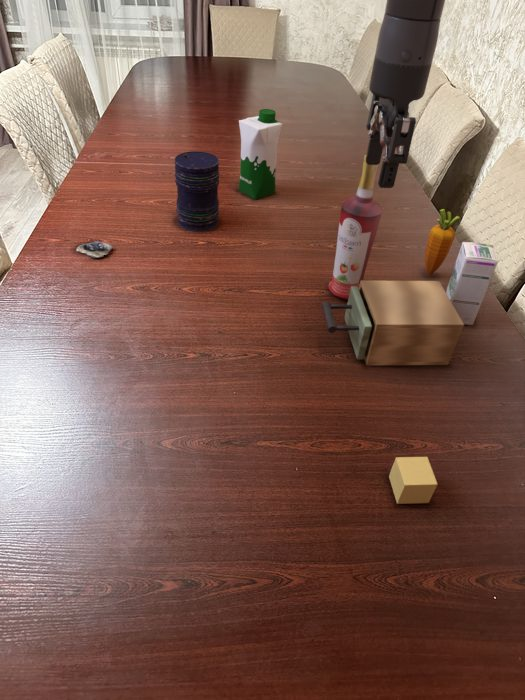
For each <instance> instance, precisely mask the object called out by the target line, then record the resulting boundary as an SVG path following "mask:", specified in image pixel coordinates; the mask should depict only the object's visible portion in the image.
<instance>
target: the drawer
mask: <svg viewBox="0 0 525 700" xmlns="http://www.w3.org/2000/svg"><path fill="white" fill-rule="evenodd" d="M321 309H322V313H323V317H324V321H325V326H326V329H327V332H328V333H329V334H334V333H336V332H337V331H347V332H348V335H349V338H350V341H351V344H352V347H353V351H354V354H355V357H356V360H365V359H364V356H365V352H366V348H367V346H368V349H369V347H370V343H371V339H372V335H373V332H374V328H375V323H374V320H373V318H372V315H371V312H370V310H369V307H368V304H367V301H366V299H365V296H364V298H363V300H362V298H361V295H360V292H359V289H358V287H357V286H351V289H350V294H349V299H348V300H347V303H346V304H333V303H331V304H330V302H329V301H324V302H322V303H321ZM333 310H345V314H344V322H345V325H336V320H335V318H334V313H333Z"/></svg>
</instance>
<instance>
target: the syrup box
mask: <svg viewBox="0 0 525 700" xmlns="http://www.w3.org/2000/svg"><path fill="white" fill-rule="evenodd" d="M498 263H499V260H498V258H497V254H496V251H495V248H494V245H491V244H487V243H481V242H473V241H471V242H470V241H462V243H461V245H460V249H459V251H458V254H457V258H456V260H455V263H454V266H453V269H452V272H451V275H450V277H449V281H448V284H447V287H446V290H445V292H446V294H447V296H448V297H449V299H450V301H451V303H452V304H453V306H454V308H455V310H456V311H457V313H458V315H459V317H460V318H461V320H462V322H463V324H464V325H466V326H467V325H469V326H473V325H474V324H475V320H476V318H477V316H478V314H479V311H480V308H481V307H482V306H481V305H482V303H483V301H484V298H485V296H486V293H487V291H488V288H489V285H490V283H491V280H492V278H493V275H494V273H495V270H496V267H497V265H498Z"/></svg>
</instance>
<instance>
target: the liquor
mask: <svg viewBox="0 0 525 700" xmlns="http://www.w3.org/2000/svg"><path fill="white" fill-rule="evenodd" d="M366 155H367V152H366V153H364V154H363V160H362V169H361V170H362V173H361V177H360V180H359V184H358V186H357V190H356V194H355V195H354V196H350V197H348V198H346V199H345V200H343V201H342V202H341V207H340V214H339V223H338V229H337V237H336V247H335V257H334V264H333V270H332V277H331V280H330V282H329V283H328V289H329V291H330V292H331V294H333V295H334V296H335V297H336V298H338V299H340V300H344V301H348V299H349V294H350V289H351V286H357V287H358V289H359V285H360V281H361V280H364V277H365V274H366V271H367V266H368V263H369V260H370V255H371V253H372V249H373V246H374V242H375V239H376V236H377V232H378V229H379V225H380V221H381V217H382V214H383V206H381V204H380V203H379V202H378V201H377V200H376V199H374V198H373V197H374V189H375V181H376V174H377V171H378V169H379V165H380V163H379V164H378V165H368V164H367V163H366Z"/></svg>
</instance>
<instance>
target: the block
mask: <svg viewBox="0 0 525 700" xmlns="http://www.w3.org/2000/svg"><path fill="white" fill-rule="evenodd" d="M388 478H389V482H390V485H391V488H392V492H393V495H394V498H395V502H396V504H397V505H404V504H405V505H406V504H407V505H408V504H409V505H410V504H429V503H430V502H431V499H432V496H433V495H434V493H435V490H436V489H437V487H438V485H439V484H438V481H437V479H436V477H435V473H434V470H433V468H432V466H431V462H430V460H429V458H428V456H399V457H395V459H394V462H393V464H392V466H391V469H390V471H389V475H388Z"/></svg>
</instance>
